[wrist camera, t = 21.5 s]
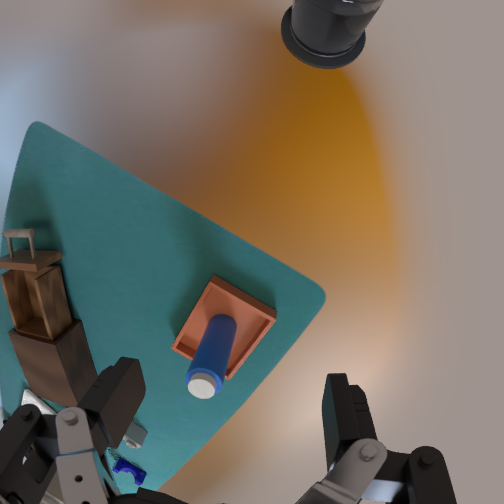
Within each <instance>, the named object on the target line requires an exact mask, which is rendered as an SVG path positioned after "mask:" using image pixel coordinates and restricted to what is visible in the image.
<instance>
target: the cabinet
mask: <svg viewBox="0 0 504 504" xmlns="http://www.w3.org/2000/svg"><path fill="white" fill-rule="evenodd" d="M72 323H73V325H72V326H71V327H70V328H69V329H68V330H67V331H66V332H64V333H63V334H62V335H61V336H60V337H59V338H58V339H57V340H56V341H55V342H52V341H48V340H44V339H40V338H37V337H33V336H29V335H26V334H22V333H18V332H16V330H15V327H14V328H13V329H11V330H10V331H9V332H8V333H9V336H10V339H11V342H12V345H13V347H14V350H15V352H16V355H17V358H18V360H19V362H20V365H21V367H22V370H23V372H24V374H25V377H26V379H27V381H28V383H29V385H30V388H31V390H32V392H33V394H34V395H37V396H39V397H42V398H44V399H47V400H50V401H52V402H55V403H58V404H61V405H64V406H67V407H76V406H77V404H78V403H79V401H80V400H81V399H82V397H83V396H84V395H85V393H86V392H87V391H88V389H89V388H90V387H91V386H92V384H93V382H94V381H95V380H96V378H97V377H98V376H97V373H96V370H95V367H94V363H93V360H92V357H91V354H90V350H89V347H88V343H87V340H86V336H85V332H84V329H83V325H82V321H81V320H75V319H72Z"/></svg>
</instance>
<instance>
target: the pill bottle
mask: <svg viewBox="0 0 504 504" xmlns="http://www.w3.org/2000/svg"><path fill="white" fill-rule="evenodd" d="M236 331H237V325H236V322H235V321H234V319H233V318H231V317H230V316H228V315H225V314H217V315H214V316H213V317H212V318H211V319H210V320H209V323H208V325H207V327H206V330H205V332H204V334H203V337H202V339H201V341H200V344H199V346H198V348H197V351H196V353H195V355H194V358H193V360H192V362H191V365H190V367H189V369H188V372H187V374H186V383H187V385H188V389H189V391H190V392H191V394H193V395H194V396H196V397H198V398H202V399H207V398H210V397H212V396H213V395H214V394H216V393H218V392H219V391H220V390H221V388H222V385H223V381H224V377H225V373H226V369H227V366H228V362H229V358H230V354H231V350H232V346H233V342H234V339H235V335H236Z"/></svg>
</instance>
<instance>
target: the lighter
mask: <svg viewBox="0 0 504 504" xmlns="http://www.w3.org/2000/svg"><path fill="white" fill-rule="evenodd" d="M147 433H148V432H147V431H145V430H144V429H142V428H141V427H139V426H138V425H136V424H135V423H134V422H131V423H130V425H129V427H128V429H127V431H126V433H125V435H124V437H123V439H124V440H126V443H125V444H127V445H128V446H130V447H131V448H140V447H141V446H142V444H143V442H144V439H145V437H146V435H147Z"/></svg>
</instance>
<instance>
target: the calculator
mask: <svg viewBox="0 0 504 504" xmlns="http://www.w3.org/2000/svg"><path fill="white" fill-rule="evenodd" d="M24 404H34V405H36V406H38V407H39V409H40V411H41V413H42V414H52V415H57V414H58V413H56V412H55V411H54V410H53V409H52V408H50V407H49V406H48V405H47V404H46V403H44V402H43V401H42V400H41V399H40V398H39V397H37V396H36V395H34V394H33V392H32V391H31V390H29V389H26V390H25V391H24V394H23V400H22V405H24Z"/></svg>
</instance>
